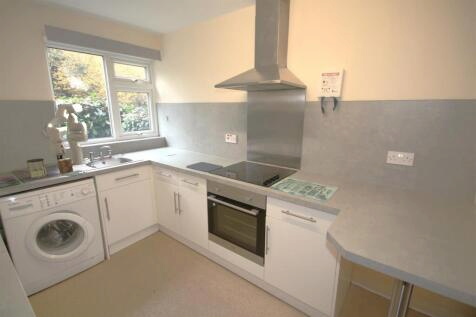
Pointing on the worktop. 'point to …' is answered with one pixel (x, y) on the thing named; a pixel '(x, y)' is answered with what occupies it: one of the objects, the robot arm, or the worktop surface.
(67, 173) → the mat
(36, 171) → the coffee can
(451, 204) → the worktop surface
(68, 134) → the robot arm
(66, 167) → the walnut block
